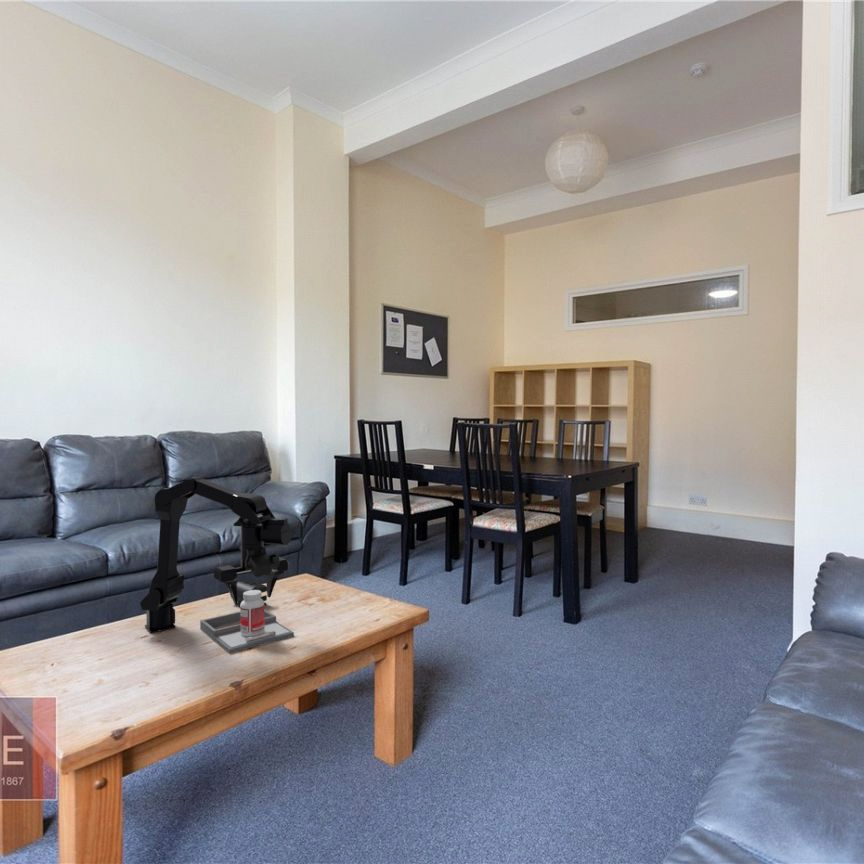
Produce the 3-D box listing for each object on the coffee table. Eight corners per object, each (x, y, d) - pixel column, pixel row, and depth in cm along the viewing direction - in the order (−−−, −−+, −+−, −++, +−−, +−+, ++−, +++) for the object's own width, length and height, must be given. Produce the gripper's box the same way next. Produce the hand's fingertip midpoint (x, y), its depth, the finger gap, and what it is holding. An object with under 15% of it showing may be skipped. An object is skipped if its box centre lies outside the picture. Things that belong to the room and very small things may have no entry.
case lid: (229, 653, 142) (229, 648, 142) (213, 640, 150) (213, 636, 150) (293, 636, 153) (293, 631, 153) (276, 624, 161) (276, 620, 161)
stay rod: (246, 642, 145) (246, 639, 145) (244, 641, 146) (244, 637, 146) (275, 635, 151) (275, 631, 151) (274, 634, 151) (274, 630, 151)
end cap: (229, 604, 179) (229, 583, 179) (249, 599, 185) (249, 578, 185) (248, 611, 173) (247, 589, 173) (267, 605, 179) (267, 584, 179)
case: (213, 640, 150) (213, 628, 150) (200, 629, 158) (200, 617, 158) (276, 624, 161) (276, 613, 161) (260, 615, 169) (260, 604, 169)
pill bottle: (267, 628, 155) (266, 588, 155) (261, 637, 149) (261, 595, 149) (244, 629, 155) (243, 589, 155) (237, 637, 149) (237, 596, 149)
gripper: (229, 553, 139) (229, 616, 140) (298, 542, 151) (298, 600, 152) (213, 545, 148) (213, 605, 148) (279, 536, 160) (280, 591, 160)
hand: (252, 600), depth 152 cm, fingers open, 9 cm apart
